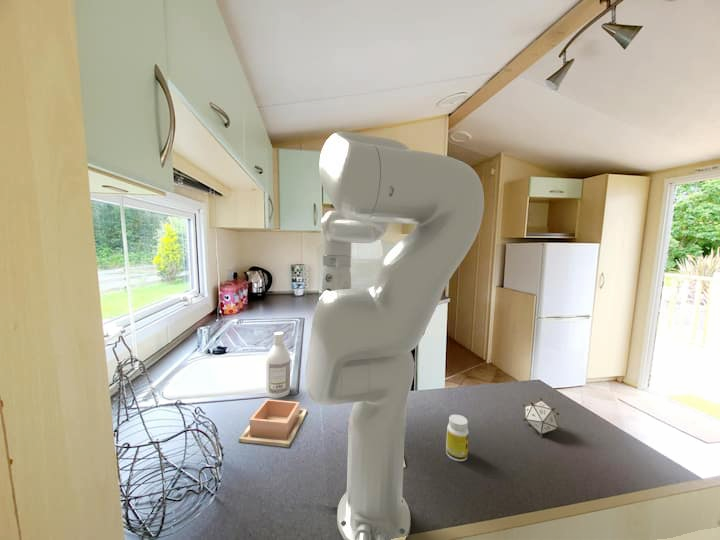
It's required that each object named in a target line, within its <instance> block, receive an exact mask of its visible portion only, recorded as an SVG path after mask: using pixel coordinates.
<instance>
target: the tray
mask: <svg viewBox="0 0 720 540" xmlns="http://www.w3.org/2000/svg"><path fill="white" fill-rule="evenodd" d="M307 413H308V409H307V408H300V412H299V418H298V420H297V422H296V424H295V426H294V427H293V429H292V431H291V433H290V435H289V436H288V438H287V439H277V438H267V437H258V436H250V424H249V425H248V426H247V427H246V428H245V430H244V431H243V432H242V434H241V435H240V436H239V438H238V443H244V444H254V445H265V446H271V447H280V448H281V447H283V448H290V446H291V444H292V442H293V441H294V438H295V437H296V435H297V433H298V431H299V429H300V427H301V425H302V423H303V422H304V419H305V417H306V415H307ZM287 418H288V417H284V416H273V415H267V417H266V418H265V420H276V421H286V420H287Z"/></svg>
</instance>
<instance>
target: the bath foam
mask: <svg viewBox="0 0 720 540" xmlns="http://www.w3.org/2000/svg"><path fill="white" fill-rule="evenodd" d="M284 335H285V333H284V332H283V331H276V332H273V345H272V347H271V348H270V350H269V352H268V354H267V357H266V396H267V397H268V398H272V399H280V398H283V397H286V396H288V395H289V394H290V393H291V392H290V391H291V356H290V355H291V354H290V351H289V350H288V348H287V347H286V345H285V344H284V342H285V341H284V340H285V338H284Z"/></svg>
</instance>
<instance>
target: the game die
mask: <svg viewBox="0 0 720 540" xmlns="http://www.w3.org/2000/svg"><path fill="white" fill-rule="evenodd" d="M521 405H522V407H524V408H525V410H524V412H525V413H524V414H525V418H522V421H524V422H525V421H526V422H527V426H531V427H533V429H535V431H537V432H538V433H539V437H540V438H543V434H546V433H549V432H552V431H556V430H559V431H562V430H563V429H562V428H561V427H559V423H558V416H559V415H560V413H559V412H555V410H556V407H550V406H549V405H548V404H547V403H545V402H544V401H543V398H542V396H540V397H539V400H537V401H535V402H533V401H532V402H530V404H523V403H522V404H521Z"/></svg>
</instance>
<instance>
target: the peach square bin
mask: <svg viewBox="0 0 720 540" xmlns="http://www.w3.org/2000/svg"><path fill="white" fill-rule="evenodd" d="M300 403H301V402H300V401H290V400H279V399H278V400H277V399H265V400H264V401H263V403H262V404H261V406H260V407H259V408H258V409H257V410H256V411H255V412H254V413H253V415H252V416H251V417H250V419H249V425H250V436H258V437H267V438H277V439H287V438H288V436H289V435H290V433H291V431H292V429H293V427H294V426H295V424H296V422H297V420H298V418H299V412H300V409H301V408H300V406H301V405H300ZM267 415H273V416H284V417H288V418H287V420H286V421H276V420H265V418H266V417H267Z"/></svg>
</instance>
